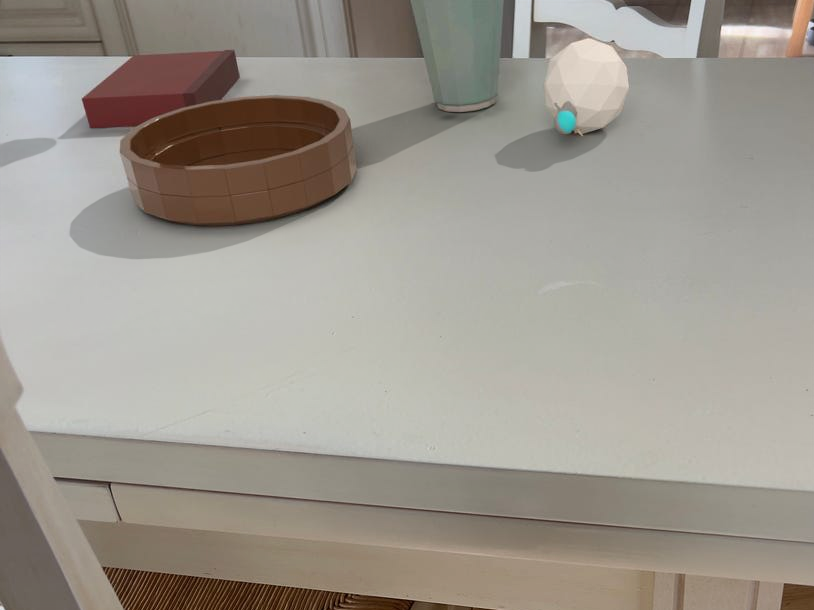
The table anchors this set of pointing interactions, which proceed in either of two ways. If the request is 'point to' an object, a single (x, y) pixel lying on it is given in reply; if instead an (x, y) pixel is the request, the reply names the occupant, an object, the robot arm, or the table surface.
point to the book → (159, 86)
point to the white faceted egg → (585, 86)
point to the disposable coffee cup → (461, 50)
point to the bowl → (239, 159)
